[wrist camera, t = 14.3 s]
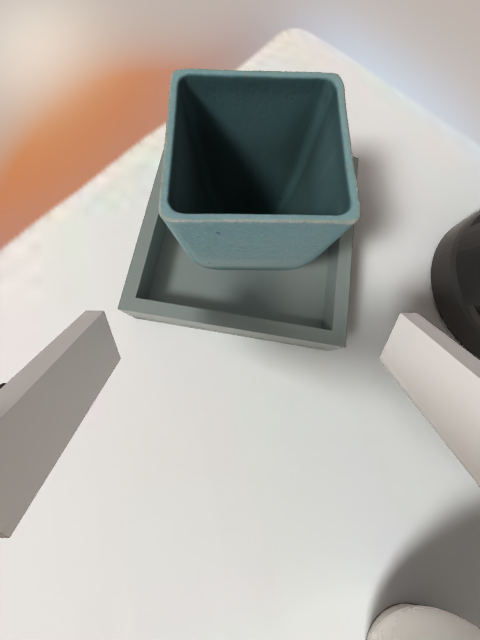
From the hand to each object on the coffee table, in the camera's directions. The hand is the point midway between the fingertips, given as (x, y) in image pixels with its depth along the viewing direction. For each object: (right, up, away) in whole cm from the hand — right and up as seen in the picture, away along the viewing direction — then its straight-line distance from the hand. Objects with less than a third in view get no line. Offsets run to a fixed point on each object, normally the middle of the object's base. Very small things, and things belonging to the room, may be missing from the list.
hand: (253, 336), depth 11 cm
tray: (0, +7, +10) cm, 12 cm away
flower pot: (0, +7, +9) cm, 12 cm away
